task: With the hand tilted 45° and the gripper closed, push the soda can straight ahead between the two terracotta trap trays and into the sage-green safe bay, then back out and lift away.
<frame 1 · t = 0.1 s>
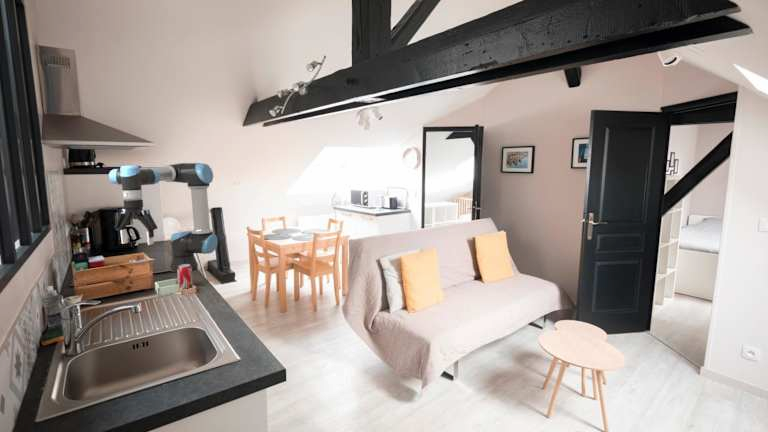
hand: (137, 243, 180), 28 cm above the table, tool pointing down, fingers open, 13 cm apart
trap near: (188, 292, 195), on the table
soda can: (186, 287, 203), on the table
safe bay: (168, 290, 198), on the table
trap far: (181, 282, 210), on the table
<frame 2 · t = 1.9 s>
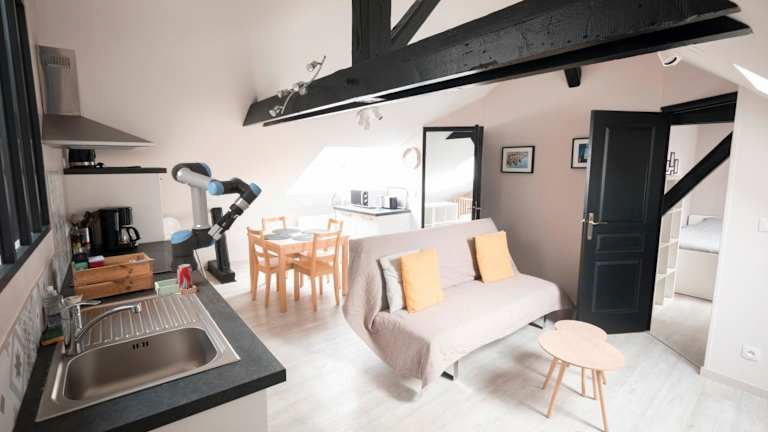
hand: (212, 236, 207), 26 cm above the table, tool tilted 45°, fingers open, 13 cm apart
nothing on the table moved.
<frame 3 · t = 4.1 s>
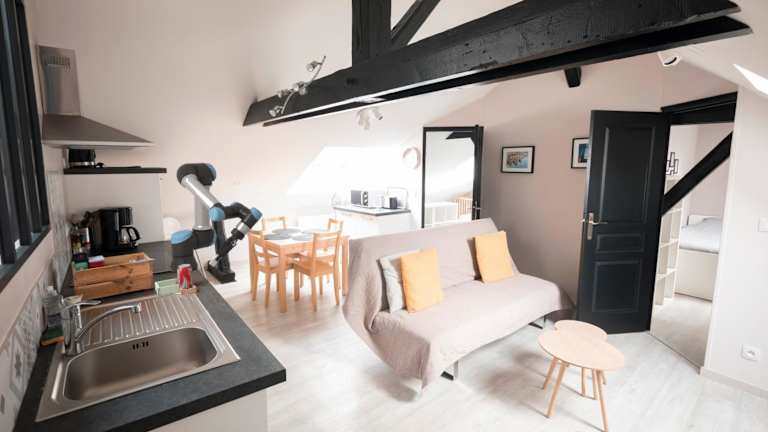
hand: (211, 265, 208), 10 cm above the table, tool tilted 45°, fingers closed
nothing on the table moved.
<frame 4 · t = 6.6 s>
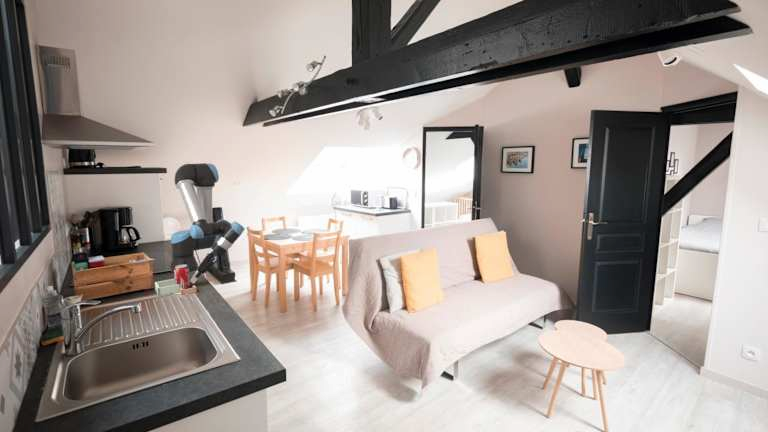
hand: (191, 282, 203), 3 cm above the table, tool tilted 45°, fingers closed
soda can: (183, 288, 202), on the table, touching gripper
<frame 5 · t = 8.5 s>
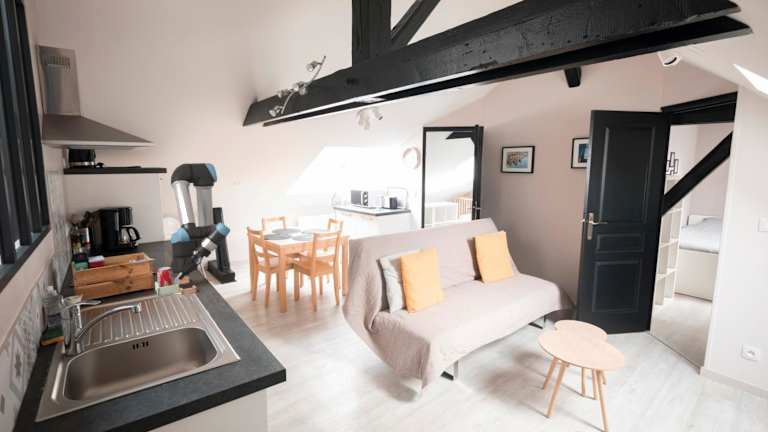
hand: (174, 283, 199), 3 cm above the table, tool tilted 45°, fingers closed
soda can: (166, 291, 198), on the table, touching gripper, safe bay
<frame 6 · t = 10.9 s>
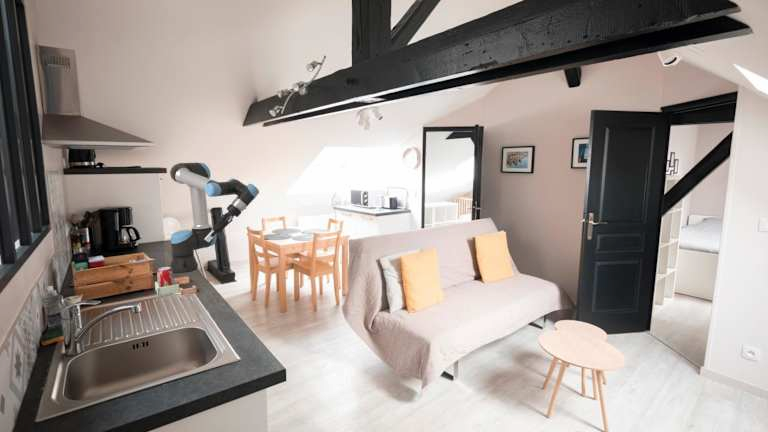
hand: (206, 240, 206), 24 cm above the table, tool tilted 45°, fingers closed
soda can: (166, 291, 198), on the table
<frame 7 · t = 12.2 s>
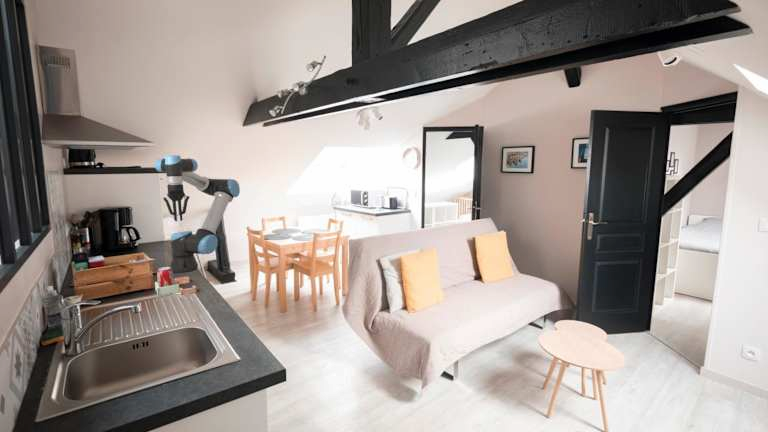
hand: (179, 226, 211), 30 cm above the table, tool pointing down, fingers closed
nothing on the table moved.
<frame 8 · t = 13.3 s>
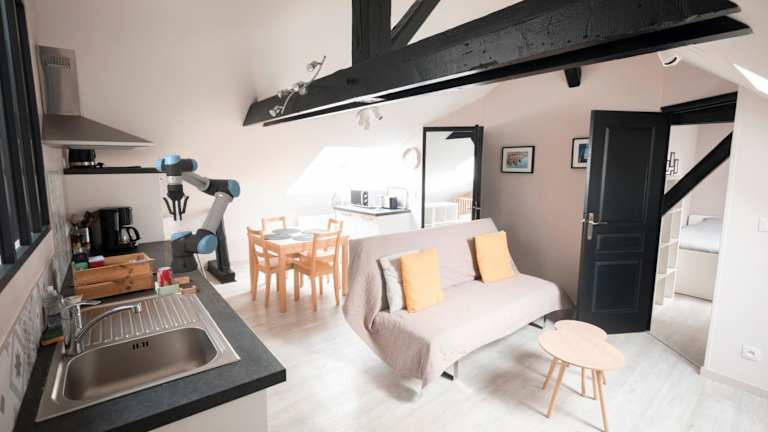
hand: (178, 226, 211), 30 cm above the table, tool pointing down, fingers closed
nothing on the table moved.
at the end: soda can 1.0 cm from the safe bay (horizontally); soda can tilted 0° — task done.
